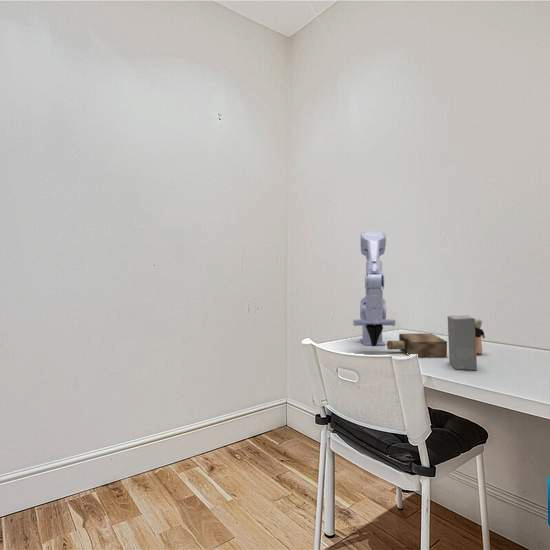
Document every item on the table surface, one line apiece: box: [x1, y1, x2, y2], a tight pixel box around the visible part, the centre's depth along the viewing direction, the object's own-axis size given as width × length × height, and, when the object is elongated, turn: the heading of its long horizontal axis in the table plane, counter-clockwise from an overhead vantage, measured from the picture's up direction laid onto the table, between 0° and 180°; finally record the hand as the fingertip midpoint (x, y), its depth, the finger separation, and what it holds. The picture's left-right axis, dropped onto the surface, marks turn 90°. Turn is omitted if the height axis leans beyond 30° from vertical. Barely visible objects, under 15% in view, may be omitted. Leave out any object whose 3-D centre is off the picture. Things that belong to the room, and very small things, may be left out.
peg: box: [386, 340, 405, 351], centre depth 146 cm, size 12×3×3 cm, turn 90°
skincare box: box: [447, 314, 478, 371], centre depth 128 cm, size 8×7×16 cm
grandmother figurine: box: [475, 317, 486, 356], centre depth 143 cm, size 8×4×13 cm, turn 122°
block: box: [398, 332, 448, 359], centre depth 146 cm, size 13×14×5 cm
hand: (374, 345), depth 146 cm, fingers closed
